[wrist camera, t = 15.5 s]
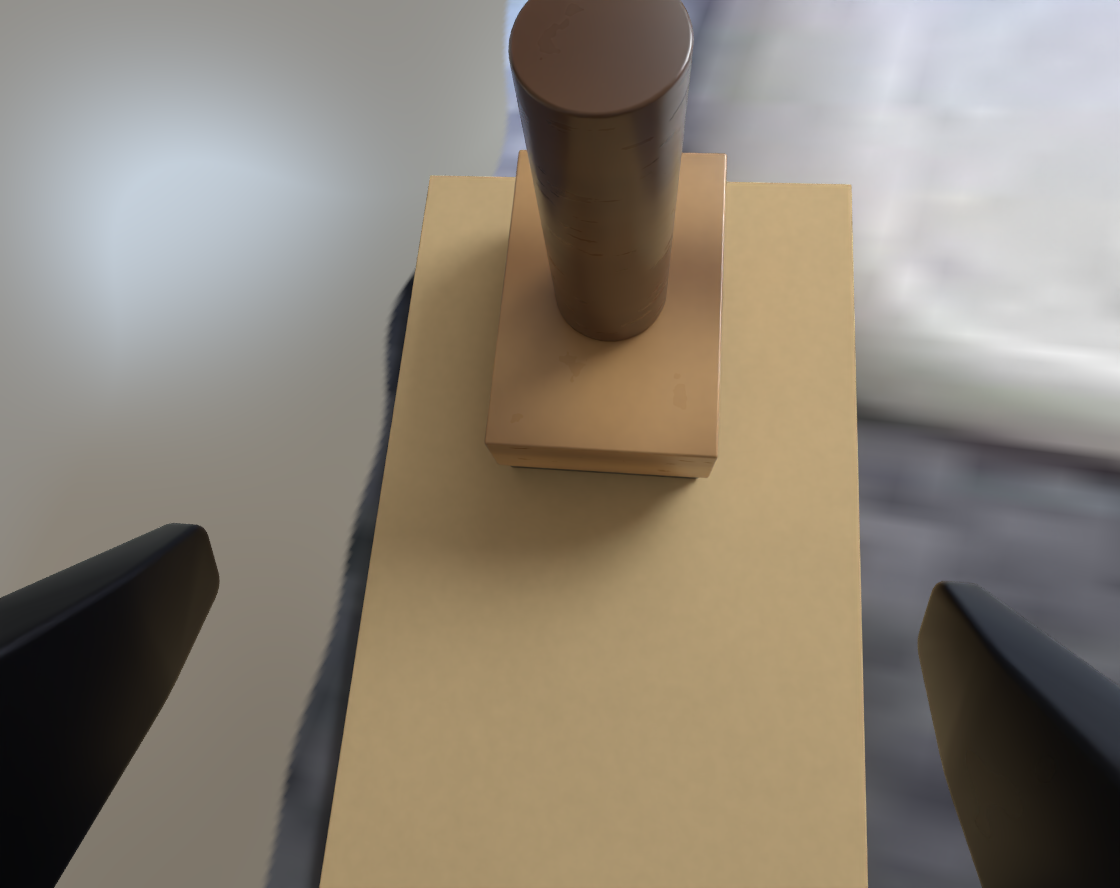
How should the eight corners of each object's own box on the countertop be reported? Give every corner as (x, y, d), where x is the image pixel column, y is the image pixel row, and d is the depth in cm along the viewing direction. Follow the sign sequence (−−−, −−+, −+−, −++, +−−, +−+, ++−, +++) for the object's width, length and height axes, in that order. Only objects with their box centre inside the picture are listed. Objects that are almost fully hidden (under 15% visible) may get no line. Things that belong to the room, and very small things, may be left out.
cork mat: (866, 961, 18) (870, 966, 18) (322, 891, 20) (317, 895, 20) (849, 189, 24) (851, 183, 24) (432, 180, 26) (429, 175, 26)
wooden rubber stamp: (705, 486, 22) (789, 297, 10) (502, 473, 22) (377, 281, 11) (714, 216, 24) (791, -173, 13) (531, 212, 25) (452, -164, 14)
